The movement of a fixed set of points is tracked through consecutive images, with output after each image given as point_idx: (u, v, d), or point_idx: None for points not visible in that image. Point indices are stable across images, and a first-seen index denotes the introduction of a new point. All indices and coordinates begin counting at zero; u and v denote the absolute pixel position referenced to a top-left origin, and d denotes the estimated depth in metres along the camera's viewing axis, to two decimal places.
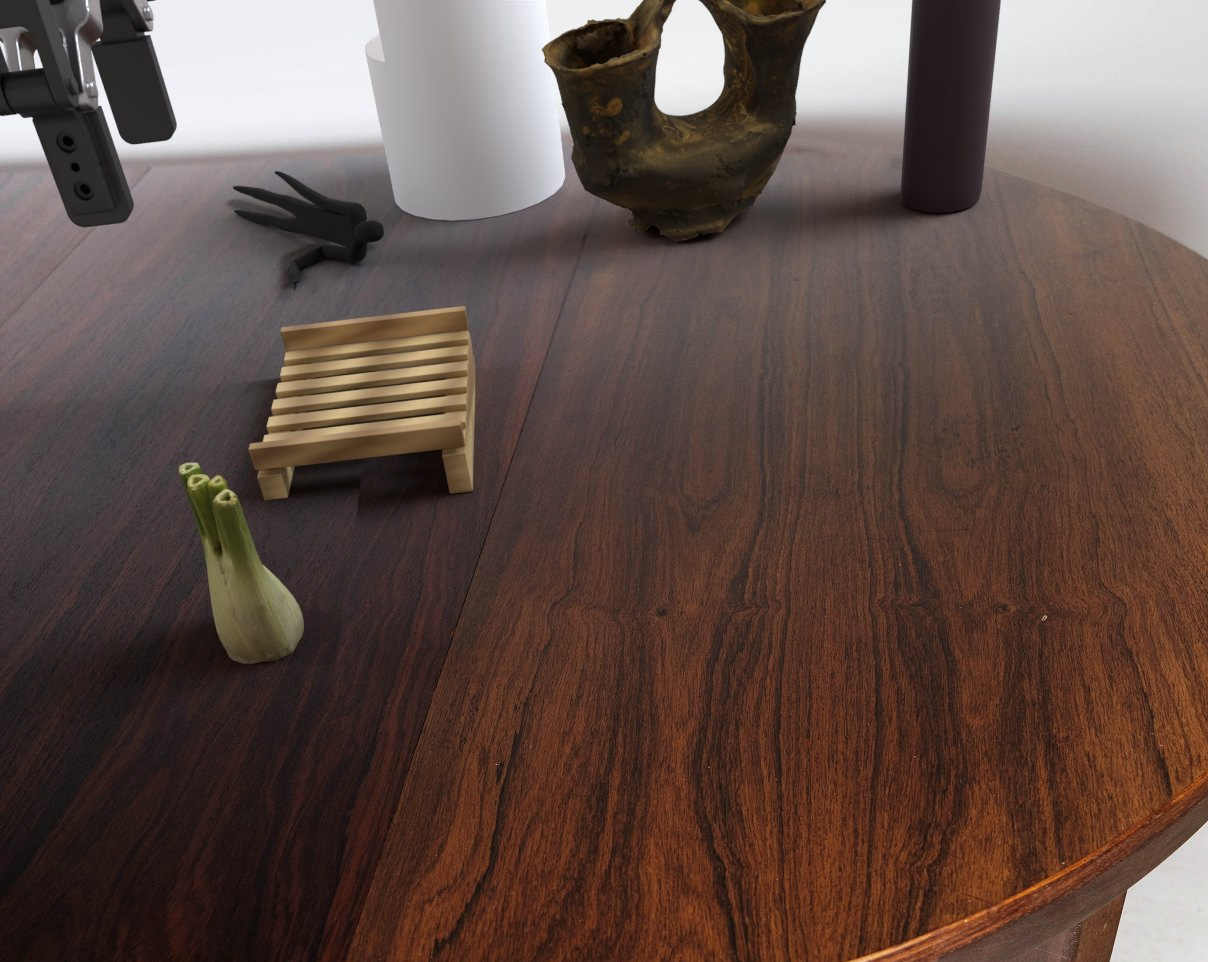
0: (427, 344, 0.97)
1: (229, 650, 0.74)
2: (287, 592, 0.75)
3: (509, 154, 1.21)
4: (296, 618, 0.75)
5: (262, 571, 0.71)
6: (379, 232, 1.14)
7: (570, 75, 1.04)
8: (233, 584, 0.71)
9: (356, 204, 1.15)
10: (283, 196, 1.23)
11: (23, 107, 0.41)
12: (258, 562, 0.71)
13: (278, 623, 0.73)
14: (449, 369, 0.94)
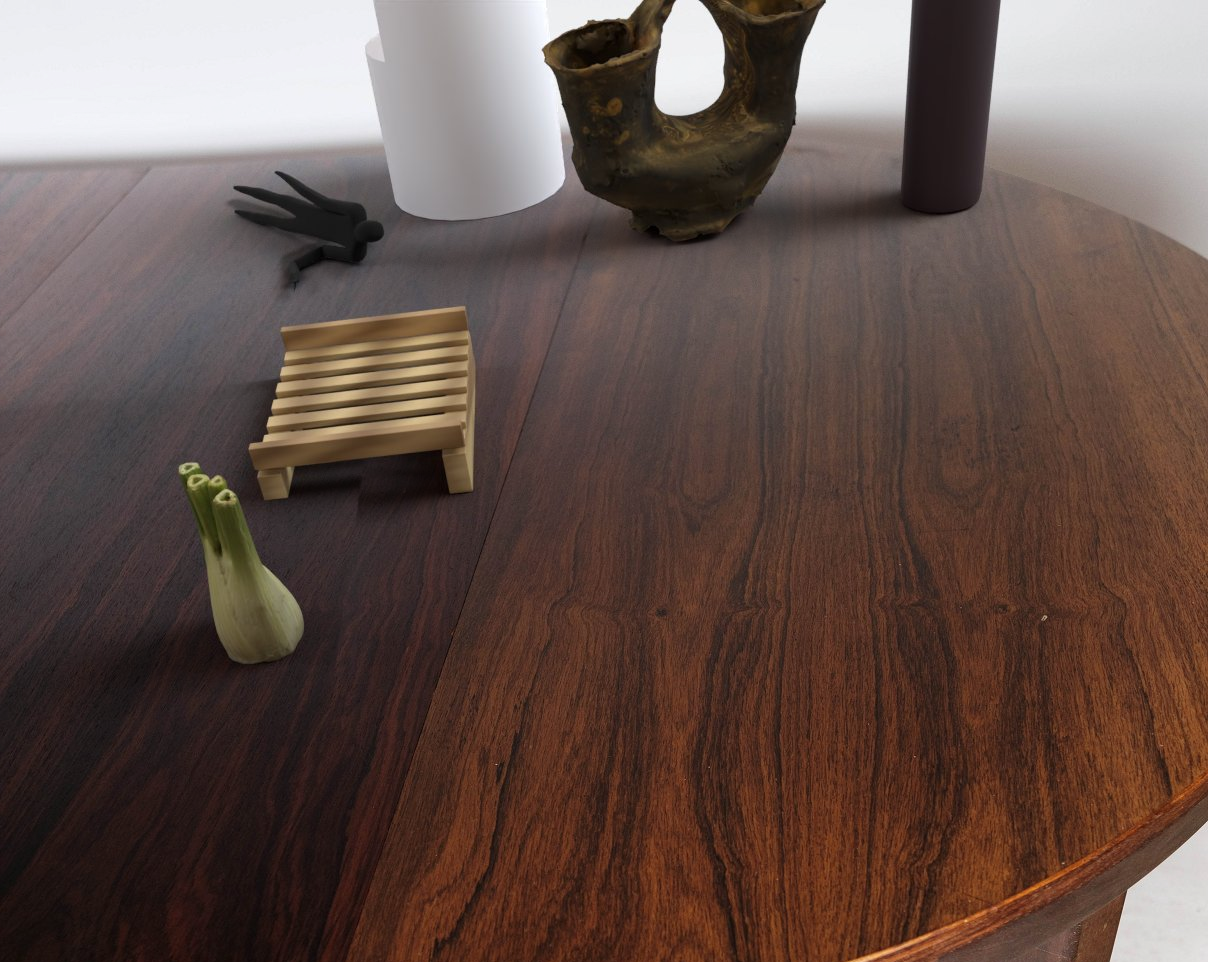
0: (427, 344, 0.97)
1: (229, 650, 0.74)
2: (287, 592, 0.75)
3: (509, 154, 1.21)
4: (296, 618, 0.75)
5: (262, 571, 0.71)
6: (379, 232, 1.14)
7: (570, 75, 1.04)
8: (233, 584, 0.71)
9: (356, 204, 1.15)
10: (283, 196, 1.23)
11: None
12: (258, 562, 0.71)
13: (278, 623, 0.73)
14: (449, 369, 0.94)
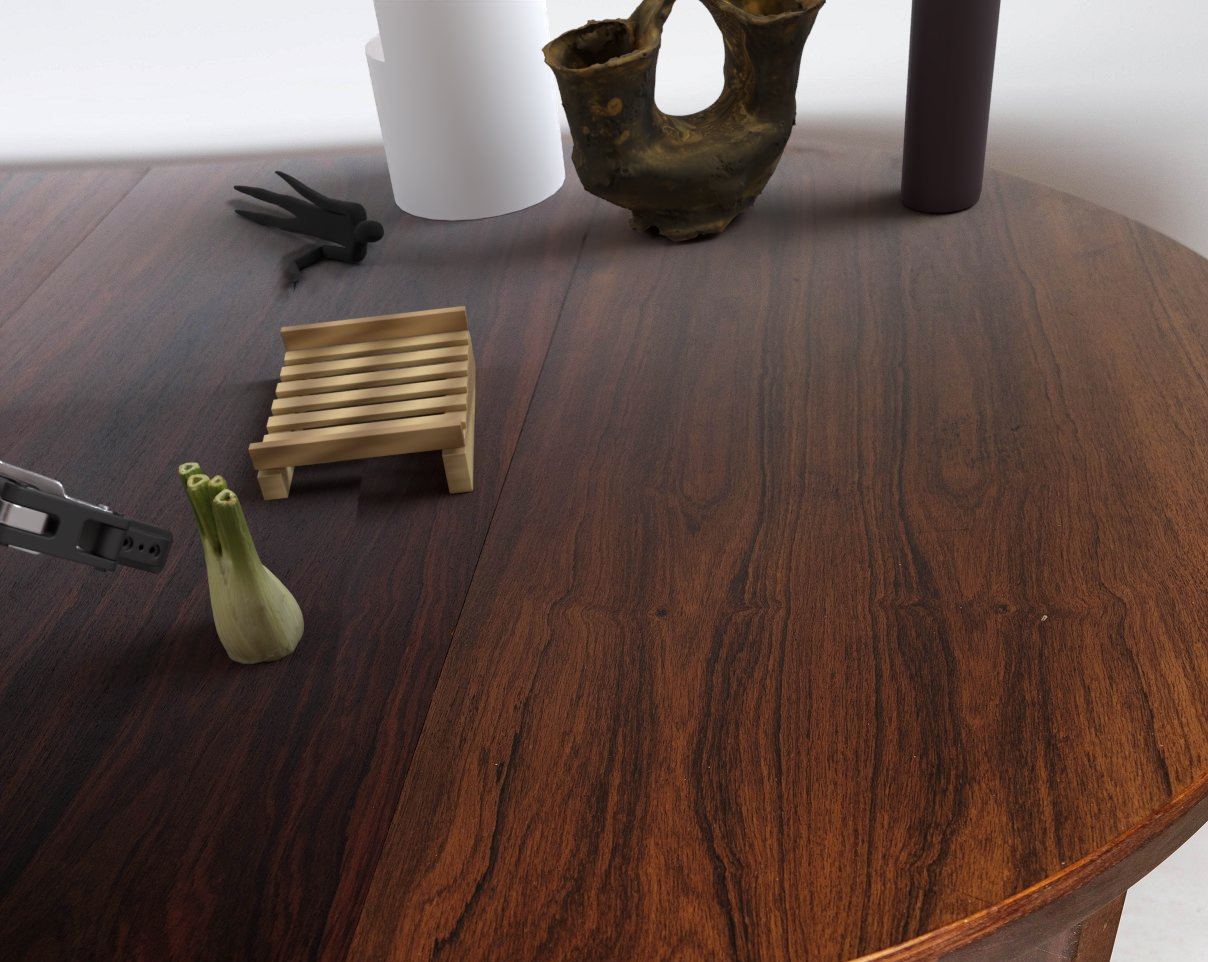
0: (427, 344, 0.97)
1: (229, 650, 0.74)
2: (287, 592, 0.75)
3: (509, 154, 1.21)
4: (296, 618, 0.75)
5: (262, 571, 0.71)
6: (379, 232, 1.14)
7: (570, 75, 1.04)
8: (233, 584, 0.71)
9: (356, 204, 1.15)
10: (283, 196, 1.23)
11: (118, 552, 0.57)
12: (258, 562, 0.71)
13: (278, 623, 0.73)
14: (449, 369, 0.94)
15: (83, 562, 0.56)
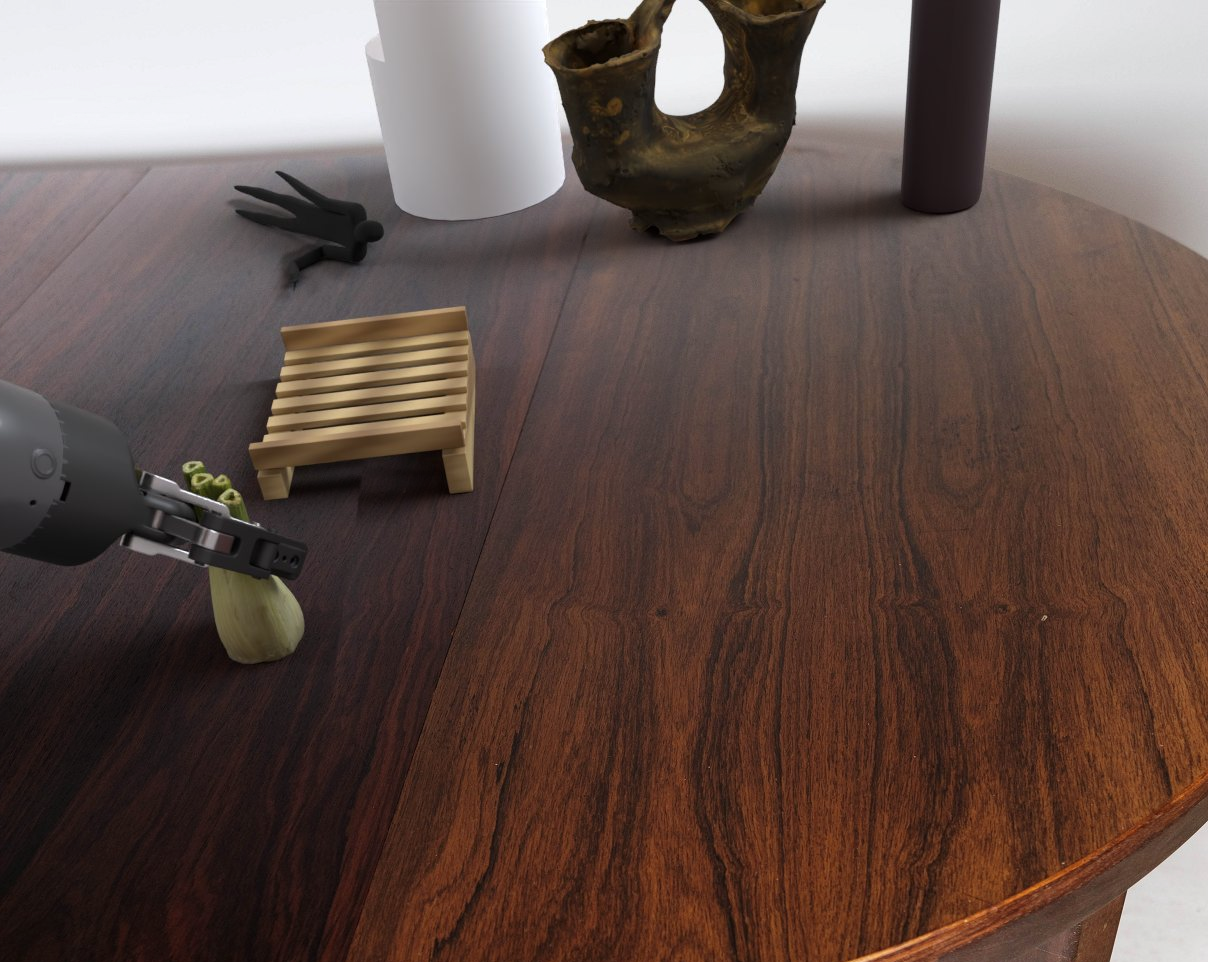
0: (427, 344, 0.97)
1: (229, 649, 0.74)
2: (288, 592, 0.75)
3: (509, 154, 1.21)
4: (297, 618, 0.75)
5: None
6: (379, 232, 1.14)
7: (570, 75, 1.04)
8: (235, 583, 0.71)
9: (356, 204, 1.15)
10: (284, 196, 1.23)
11: (272, 563, 0.67)
12: None
13: (279, 623, 0.73)
14: (449, 369, 0.94)
15: (251, 574, 0.65)
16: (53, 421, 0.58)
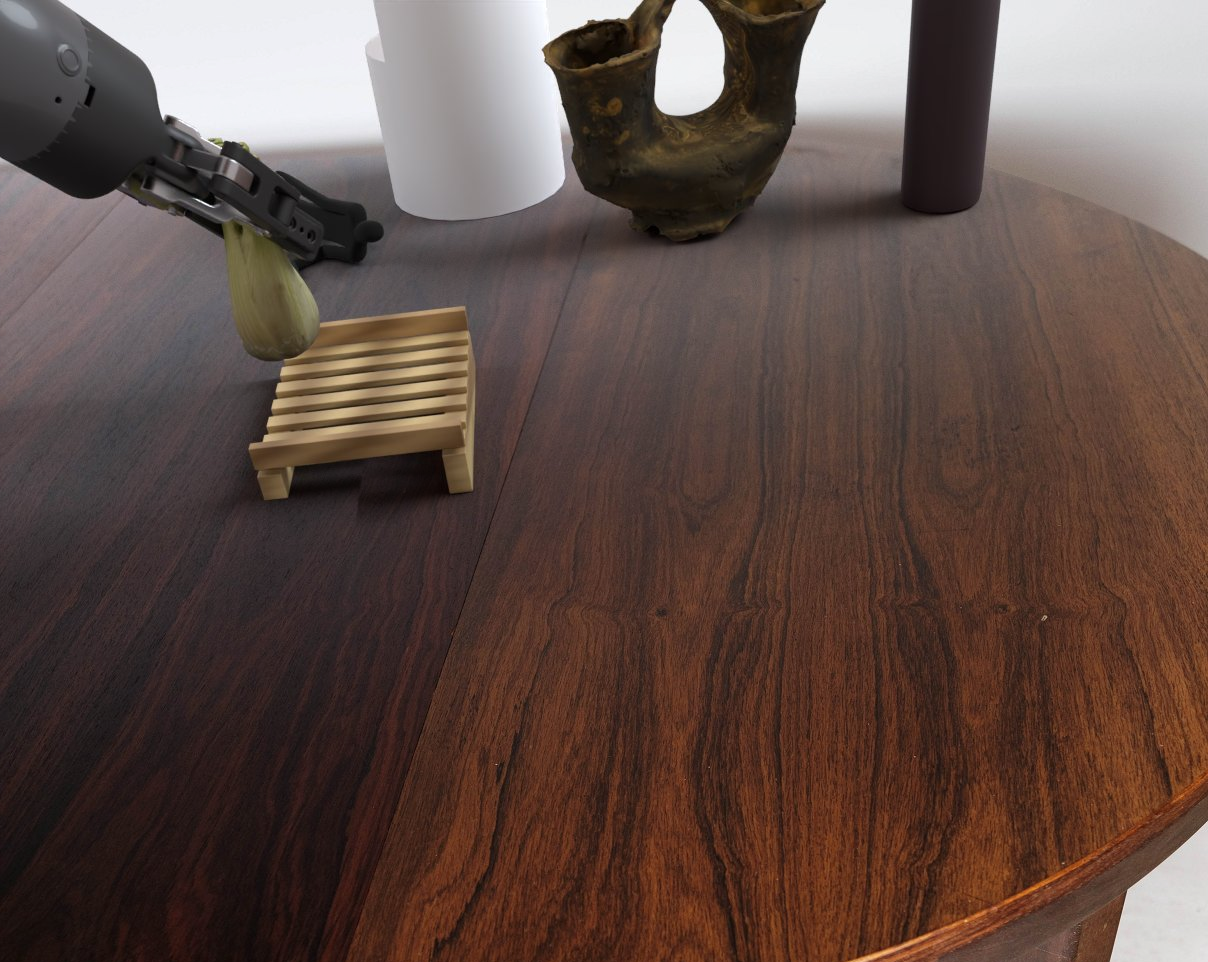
0: (427, 344, 0.97)
1: (246, 338, 0.75)
2: (304, 284, 0.76)
3: (509, 154, 1.21)
4: (313, 309, 0.76)
5: None
6: (379, 232, 1.14)
7: (570, 75, 1.04)
8: (253, 261, 0.72)
9: (356, 204, 1.15)
10: None
11: (290, 220, 0.68)
12: None
13: (295, 305, 0.74)
14: (449, 369, 0.94)
15: (270, 224, 0.67)
16: (78, 25, 0.59)
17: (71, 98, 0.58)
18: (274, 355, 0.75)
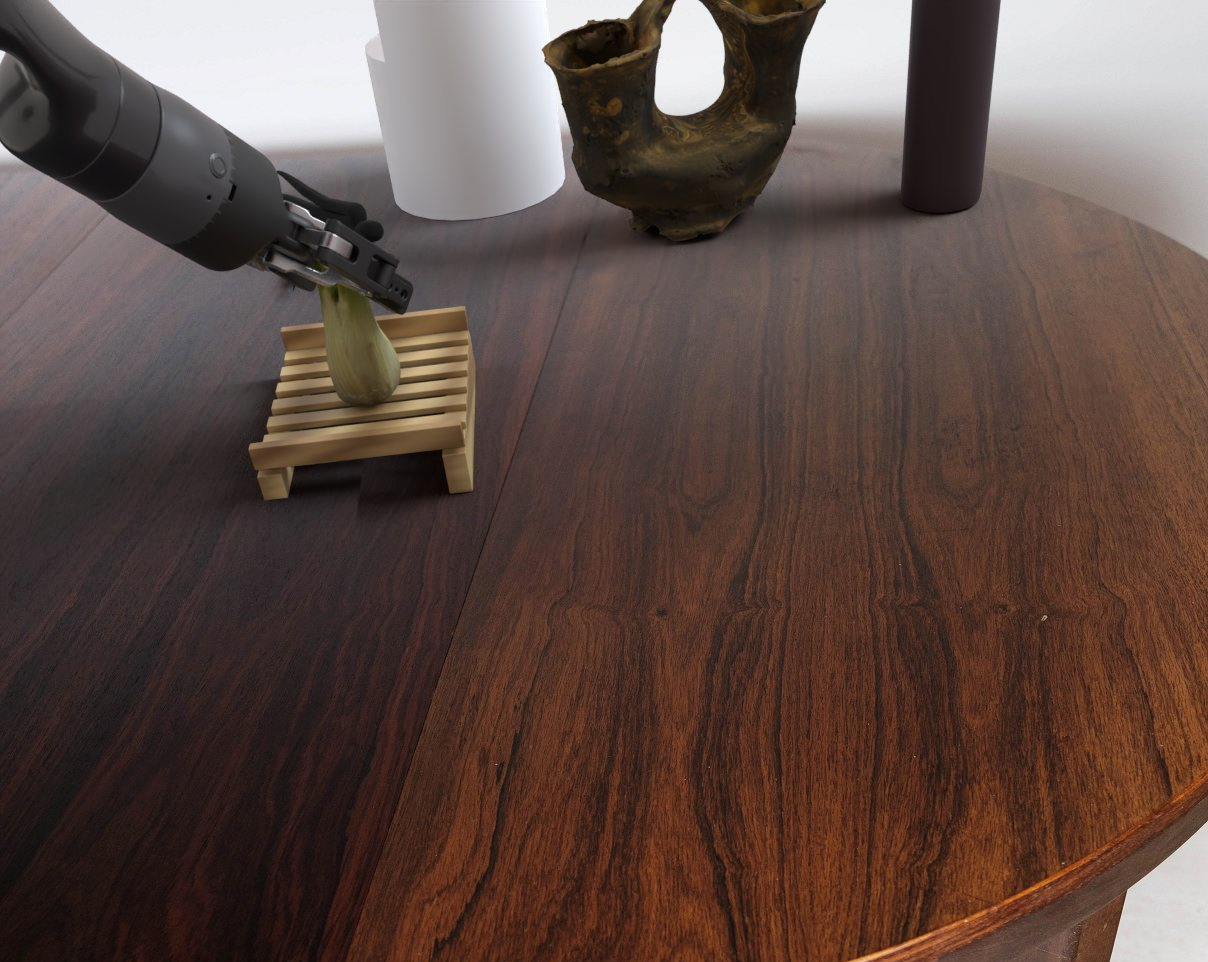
0: (427, 344, 0.97)
1: (340, 387, 0.89)
2: (388, 340, 0.90)
3: (509, 154, 1.21)
4: (395, 362, 0.90)
5: (372, 312, 0.86)
6: (378, 232, 1.14)
7: (570, 75, 1.04)
8: (347, 324, 0.86)
9: (356, 204, 1.15)
10: (284, 195, 1.23)
11: (390, 284, 0.81)
12: (369, 303, 0.86)
13: (383, 360, 0.88)
14: (449, 369, 0.94)
15: (370, 286, 0.79)
16: (223, 136, 0.73)
17: (218, 195, 0.72)
18: (364, 401, 0.89)
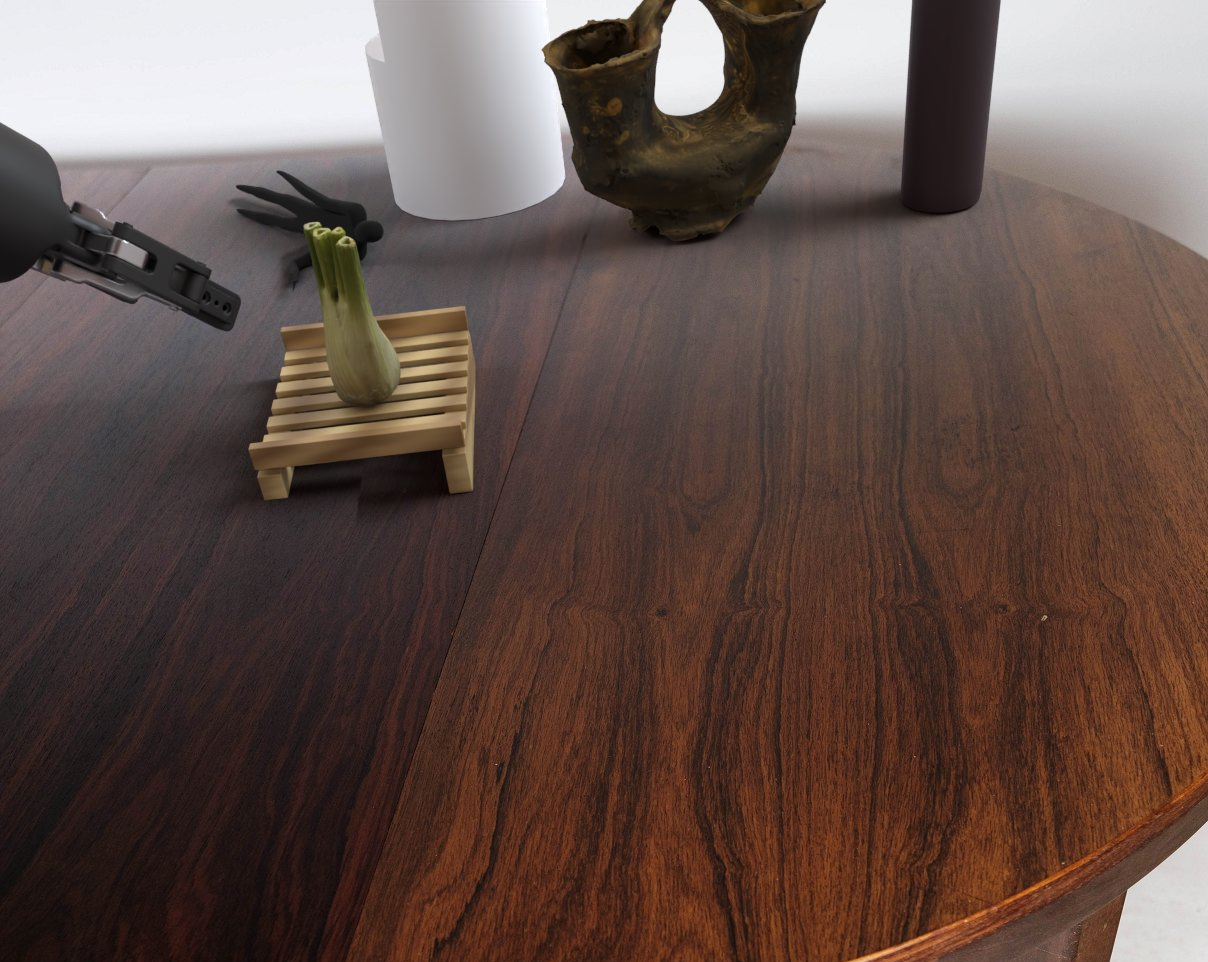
0: (427, 344, 0.97)
1: (340, 387, 0.89)
2: (388, 340, 0.90)
3: (509, 154, 1.21)
4: (395, 362, 0.90)
5: (371, 312, 0.86)
6: (378, 232, 1.14)
7: (570, 75, 1.04)
8: (347, 324, 0.86)
9: (356, 204, 1.15)
10: (285, 195, 1.23)
11: (201, 297, 0.70)
12: (369, 303, 0.86)
13: (382, 360, 0.88)
14: (449, 369, 0.94)
15: (174, 299, 0.68)
16: None
17: None
18: (364, 401, 0.89)
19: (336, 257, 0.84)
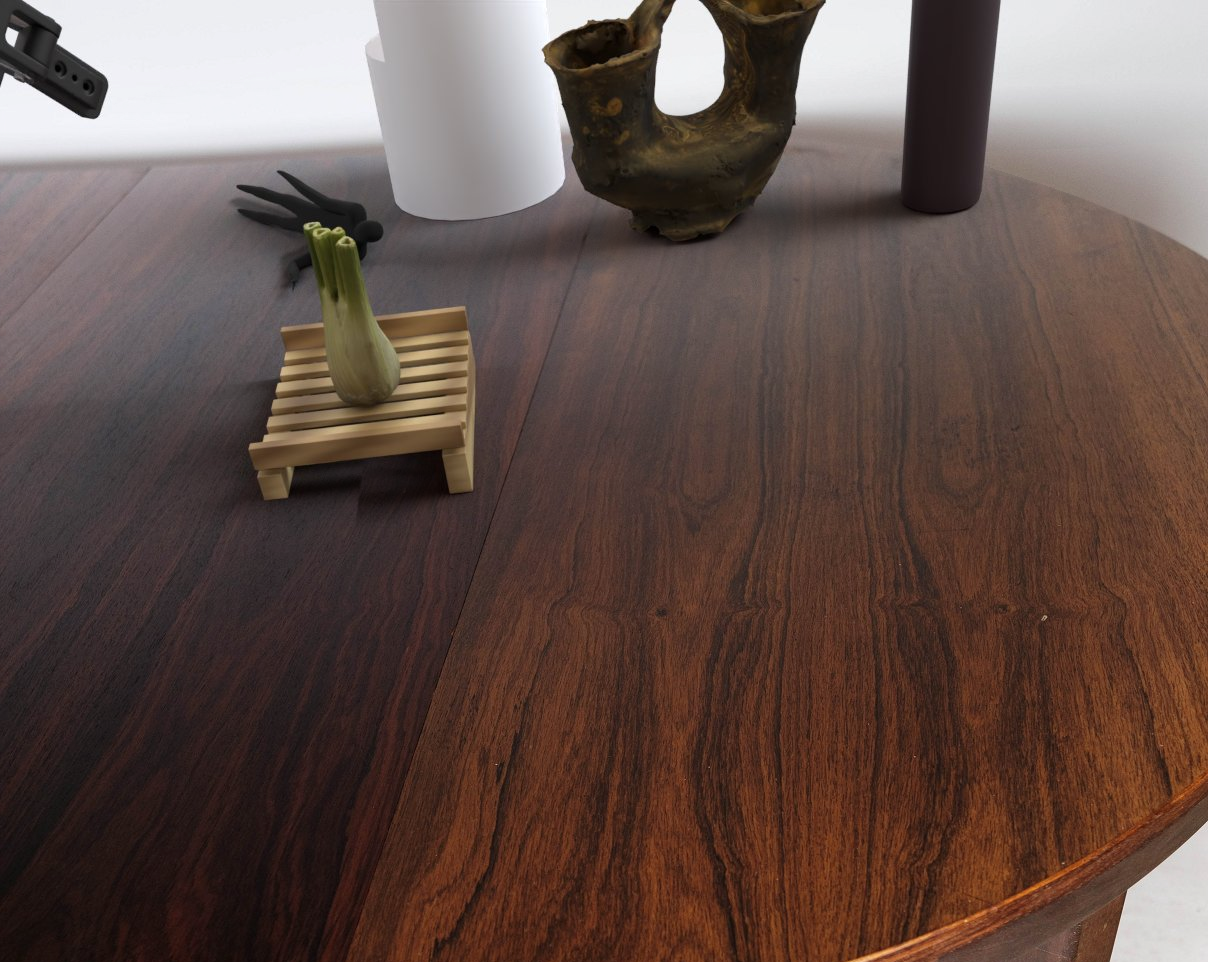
0: (427, 344, 0.97)
1: (340, 387, 0.89)
2: (388, 340, 0.90)
3: (509, 154, 1.21)
4: (395, 362, 0.90)
5: (371, 312, 0.86)
6: (378, 232, 1.14)
7: (570, 75, 1.04)
8: (347, 324, 0.86)
9: (356, 204, 1.15)
10: (285, 195, 1.23)
11: (49, 59, 0.58)
12: (369, 303, 0.86)
13: (382, 360, 0.88)
14: (449, 369, 0.94)
15: (13, 56, 0.57)
16: None
17: None
18: (364, 401, 0.89)
19: (336, 257, 0.84)
